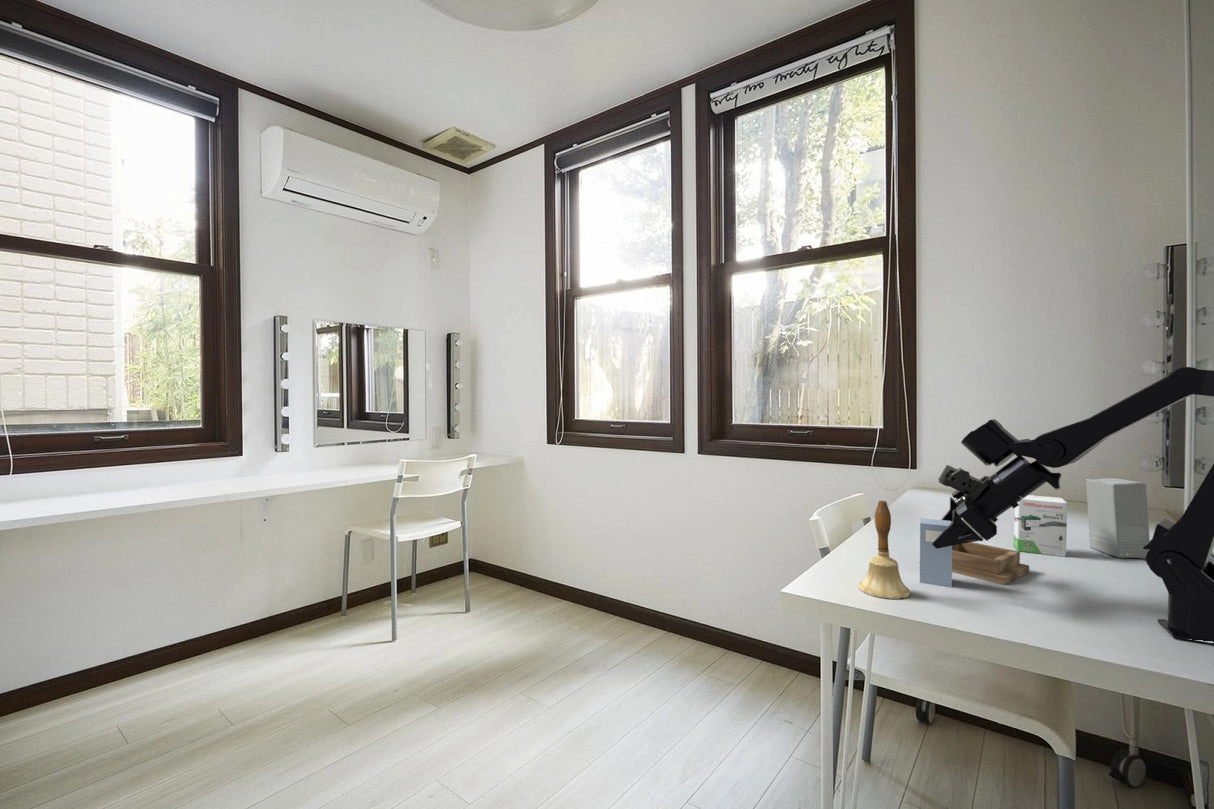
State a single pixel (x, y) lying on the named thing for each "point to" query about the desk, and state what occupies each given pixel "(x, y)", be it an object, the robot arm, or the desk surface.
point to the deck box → (934, 554)
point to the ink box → (1041, 525)
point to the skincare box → (1118, 517)
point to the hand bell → (883, 563)
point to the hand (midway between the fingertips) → (933, 539)
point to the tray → (987, 562)
